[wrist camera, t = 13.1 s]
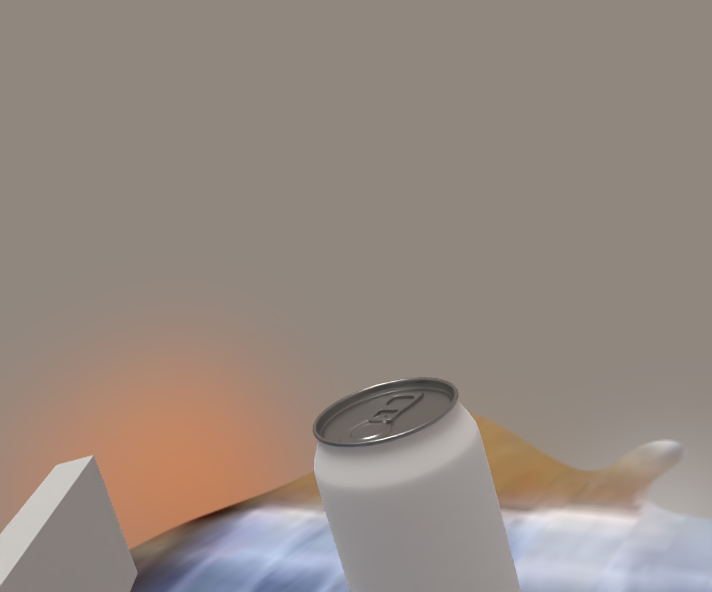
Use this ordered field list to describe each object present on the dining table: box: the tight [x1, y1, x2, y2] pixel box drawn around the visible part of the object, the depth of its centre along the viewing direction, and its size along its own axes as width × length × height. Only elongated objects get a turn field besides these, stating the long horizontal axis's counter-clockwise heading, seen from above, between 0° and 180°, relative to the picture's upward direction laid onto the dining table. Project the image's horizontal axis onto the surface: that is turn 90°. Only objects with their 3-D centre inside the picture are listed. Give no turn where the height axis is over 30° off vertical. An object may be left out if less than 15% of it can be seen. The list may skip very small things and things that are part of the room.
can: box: [313, 377, 521, 592], centre depth 26 cm, size 6×6×12 cm
